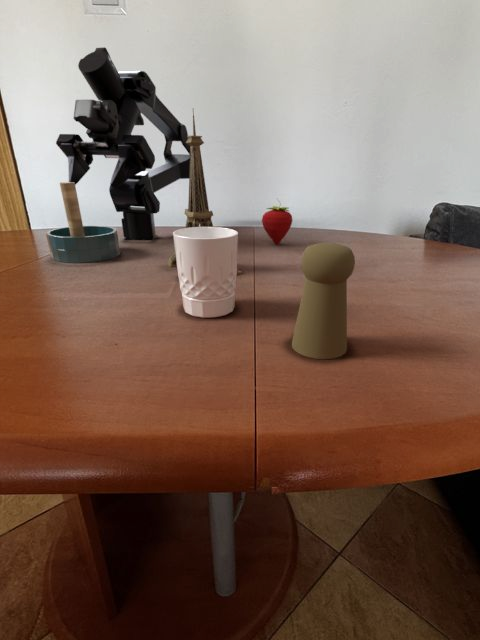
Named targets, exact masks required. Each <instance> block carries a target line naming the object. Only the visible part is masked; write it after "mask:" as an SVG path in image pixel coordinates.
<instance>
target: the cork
mask: <svg viewBox="0 0 480 640" xmlns="http://www.w3.org/2000/svg"><path fill="white" fill-rule="evenodd" d="M355 258H356V257H355V254H354V252H353V251H352V249H351V248H350V247H349V246H346V245H344V244H339V243H335V242H318V243H313V244H310V245H309V246H307V247H306V248H305V250H304V251H303V253H302V256H301V270H302V273H303V276H304V277H305V279H304V284H303V289H302V293H301V299H300V302H299V303H300V304H299V307H298V312H297V317H296V321H295V327H294V331H293V336H292V341H291V348H292V349H293V351H295V352H296V353H297V354H299V355H301V356H304V357H306V358H310V359H315V360H332V359H337V358H340V357H342V356H343V355H345V354H346V353H347V350H348V291H347V290H348V283H347V282H348V279H349V278H350V277H351V276H352V274H353V272H354V269H355V265H356V261H355V260H356V259H355Z"/></svg>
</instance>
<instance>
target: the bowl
mask: <svg viewBox="0 0 480 640" xmlns="http://www.w3.org/2000/svg"><path fill="white" fill-rule="evenodd" d="M83 229H84V234H85V236H84V237H71V235H70V230H69V226H64V227H58V228H54V229H50V230H48V231H46V232H45V237H46V240H47V244H48V248H49V253H50V257H51V259H52V260H53V261H56V262H60V263H69V264H84V263H87V264H88V263H96V262H104V261H107V260H111V259H115V258H117V257H119V256H120V255H121V249H120V242H119V235H118V229H117V228H116V227H113V226H107V225H83Z"/></svg>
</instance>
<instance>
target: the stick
mask: <svg viewBox="0 0 480 640" xmlns="http://www.w3.org/2000/svg"><path fill="white" fill-rule="evenodd" d="M59 187H60V192H61V196H62V201H63V206H64V210H65V216H66V220H67V225H68V226H67V227H69V230H70V235H71V237H84V236H85V234H84V229H83V226H84V224H83V219H82V214H81V209H80V208H81V207H80V203H79V198H78V197H79V196H78V193H77V188H76V185H75V182H69V181H60V182H59Z"/></svg>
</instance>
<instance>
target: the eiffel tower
mask: <svg viewBox="0 0 480 640" xmlns="http://www.w3.org/2000/svg"><path fill="white" fill-rule="evenodd" d="M195 121H196V120H195V113H194V109H192V135H188V136H187V137H189V138H188V140H187V141H186V143H187V144H189V145H190V154H189V155H190V174H189V179H188V202H187V203H188V206H187V207H188V208H185V209H184V215H185V216H186V220H185V221H186V222H185V227H184V228H191V227H214V225H213V221H212V217H213V216H214V213H213V210H210V207H209V201H208V195H207V188H206V179H205V172H204V167H203V158H202V151H201V146H202V145H203V144H205V141H203V139H202V138H203V135H197V134H196V133H197V132H196V123H195ZM165 265H166V266H168V268H177V261H176V253H175V250H174V251H173V253H172V254H171V255H170V257H169V259H168V262H166V263H165ZM242 273H243V271H242V270H239V269H238V268H237V275H242ZM177 277H178V279H179V276H178V275H177Z"/></svg>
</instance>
